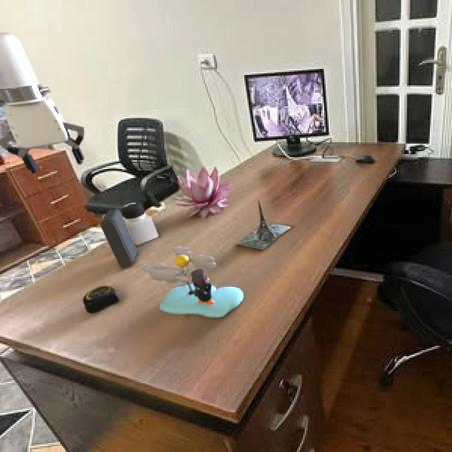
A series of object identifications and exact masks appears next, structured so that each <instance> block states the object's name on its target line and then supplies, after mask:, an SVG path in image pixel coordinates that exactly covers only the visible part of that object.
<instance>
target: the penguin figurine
mask: <svg viewBox="0 0 452 452" xmlns="http://www.w3.org/2000/svg"><path fill="white" fill-rule="evenodd" d="M170 251H172V252H173V253H174V255H175V256H176V257H175V259H174V265H176V267H172V266H167V265H166V264H165V263H162V262H159V263H152V264H151V265H145V266H142V270H143V272H145V273H148V274H149V278H150V279H151V280H154V281H157V282H159V281H160V282H162V281H163V282H166V283H168V284H175V283H179V285H181V286H176V287H172V288H171V289H170V290H169V291H168V292H167V294H166V295H165V297H164V299H163V301H162V302H161V304H160V305H159V310H161V311H162V312H164V313H167V314H171V315H176V316H177V315H179V316H181V315H200V316H203V317H206V318H211V319H213V318H215V319H216V318H224V317H225V316H226V315H227V314H229V313H230V312H231V311H233V310H235V309H236V308H237V307H238V306H239V305H240V304H241V303H242V302H243V300H244V292H243V291H242V290H241V289H240V288H238V287H235V286H222V285H221V286H219V288H216V286H217V285H216V284H215V283H211V282H209V281H210V279H209V276H207V275H206V273H205V270H204V269H208V270H215V269H217V268H218V269H222V267H221V266H219V265H217V263H216V262H215V259H214V257H212V256H211V255H203V254H192V252H191V251H190V249H189V247H187V246H181V245H173V246H171V248H170ZM190 262H191V263H192V264H193V266H194V267H195V268H197V269H194V270H191V269H190V268H189V267H188V265H189V264H190ZM177 267H178V268H177ZM185 267H186V271H185V270H184V268H185ZM190 271H191V272H190ZM189 272H190V277H191V278H190V277H189V276H188V275H187V274H188V273H189ZM190 280H191V283H189V282H190ZM183 282H186V284H183Z"/></svg>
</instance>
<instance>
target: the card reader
mask: <svg viewBox="0 0 452 452" xmlns="http://www.w3.org/2000/svg"><path fill="white" fill-rule="evenodd" d="M124 219H125V218H124V216H123V213H122V211H121V210H119V209H118V208H114V209H110V210H107V211H106V212H105V213H104V216H103V218H102V220H101V221H100V223H99V225H100V228H101V231H102V232H103V234H104V237H105V239H106V241H107V243H108V245H109V247H110V250H111V251H112V253H113V255H114V258H115V260H116V262H117V264H118V266H119V267H120V268H128V267H131V266H132V265H134V263H135V260H136V259H135V258H136V255H137V253H138V249H137V246H136V244H135V243H134V242H133V240H132V237H131V235H130V233H129V230H128V228H127V226H126V223H125V221H124Z"/></svg>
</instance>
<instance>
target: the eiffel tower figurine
mask: <svg viewBox="0 0 452 452" xmlns="http://www.w3.org/2000/svg"><path fill="white" fill-rule="evenodd" d="M257 200H258V201H257V204H258V211H259V225H258V227H256V228H255V229H254V230H253V231H252V232H250V233H249V234H248V235H246V236H245V237H244V238H243V239H242V240H241V241H239V242H238V243H237V244H236V245H237V246H241V247H247V248H253V249H259V250H265V249H266V248H267V247H269V246H270V245H271V244H273V243H274V242H275V241H276V240H277V239H278V238H279V237H280V236H281V235H283V234H284V233H285V232H286V231H288V230H289V229H291V228H292V227H291V226H288V225H282V224H278V223H275V222H270V221H266V219H265V217H264V213H263V211H262V207H261V201H260V200H259V199H257Z"/></svg>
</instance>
